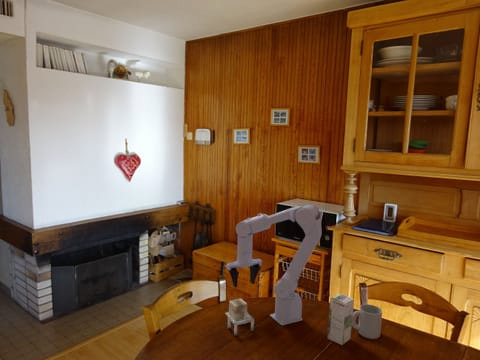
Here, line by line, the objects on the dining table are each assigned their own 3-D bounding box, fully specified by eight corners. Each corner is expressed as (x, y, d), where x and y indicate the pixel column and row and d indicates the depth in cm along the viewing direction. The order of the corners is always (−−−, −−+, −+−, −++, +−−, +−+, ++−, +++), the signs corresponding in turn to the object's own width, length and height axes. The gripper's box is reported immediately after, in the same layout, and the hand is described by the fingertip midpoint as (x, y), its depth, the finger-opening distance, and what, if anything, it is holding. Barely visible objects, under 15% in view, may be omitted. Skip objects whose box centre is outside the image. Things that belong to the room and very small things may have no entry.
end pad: (241, 310, 136) (241, 309, 136) (250, 318, 130) (250, 317, 130) (225, 313, 132) (225, 312, 132) (233, 322, 126) (233, 321, 126)
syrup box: (335, 332, 122) (338, 292, 120) (351, 339, 118) (354, 298, 116) (326, 338, 118) (329, 297, 116) (342, 346, 114) (345, 303, 112)
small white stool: (245, 322, 126) (246, 311, 126) (254, 330, 121) (254, 318, 121) (227, 327, 123) (227, 315, 122) (234, 335, 118) (235, 323, 117)
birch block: (240, 310, 134) (240, 298, 134) (246, 316, 130) (247, 303, 129) (228, 313, 132) (229, 300, 131) (234, 319, 128) (235, 306, 127)
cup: (382, 340, 118) (384, 315, 117) (352, 337, 119) (353, 312, 118) (377, 329, 125) (378, 305, 124) (348, 326, 126) (349, 302, 125)
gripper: (255, 246, 142) (254, 278, 144) (223, 250, 135) (222, 283, 137) (265, 251, 136) (263, 284, 137) (231, 255, 129) (230, 291, 131)
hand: (243, 284), depth 137 cm, fingers open, 7 cm apart
